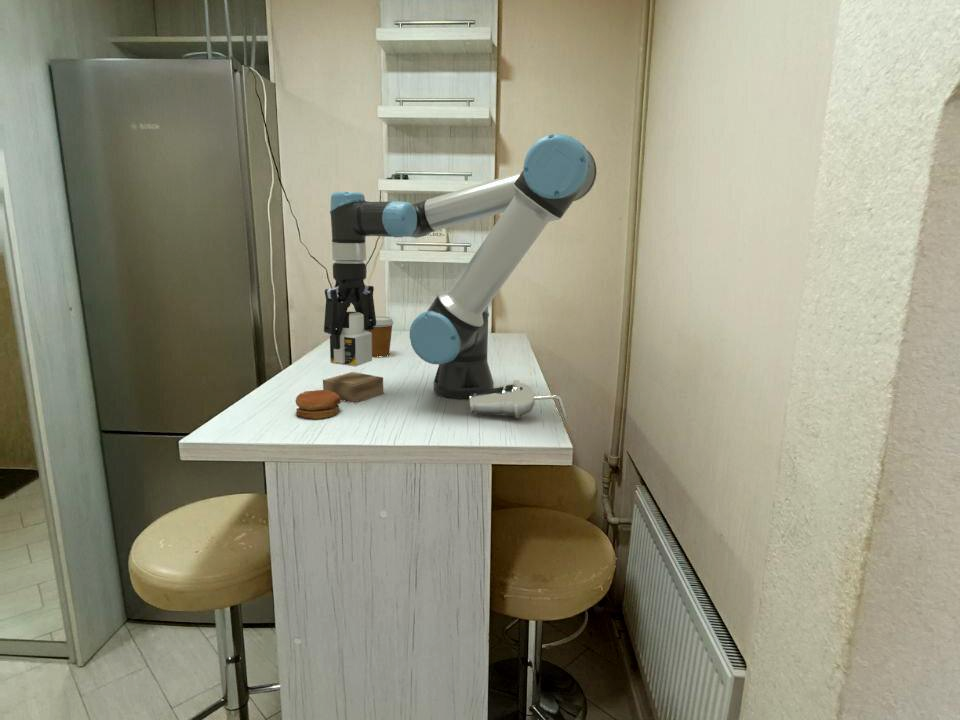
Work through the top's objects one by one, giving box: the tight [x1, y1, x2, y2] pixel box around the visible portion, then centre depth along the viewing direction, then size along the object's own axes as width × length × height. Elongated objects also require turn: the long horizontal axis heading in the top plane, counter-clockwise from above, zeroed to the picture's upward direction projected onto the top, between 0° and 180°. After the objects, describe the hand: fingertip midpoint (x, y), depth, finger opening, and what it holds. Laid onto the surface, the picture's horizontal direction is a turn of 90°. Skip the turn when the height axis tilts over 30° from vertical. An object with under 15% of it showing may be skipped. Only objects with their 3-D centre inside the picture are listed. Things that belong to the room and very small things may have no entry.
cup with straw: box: [469, 379, 568, 420], centre depth 119 cm, size 8×9×20 cm
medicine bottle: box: [329, 311, 373, 367], centre depth 132 cm, size 7×7×12 cm
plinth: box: [322, 371, 384, 404], centre depth 134 cm, size 10×10×4 cm
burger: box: [295, 389, 342, 420], centre depth 121 cm, size 10×9×5 cm
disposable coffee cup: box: [370, 315, 395, 358], centre depth 178 cm, size 10×10×12 cm
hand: (352, 359), depth 133 cm, fingers closed on medicine bottle, 8 cm apart
